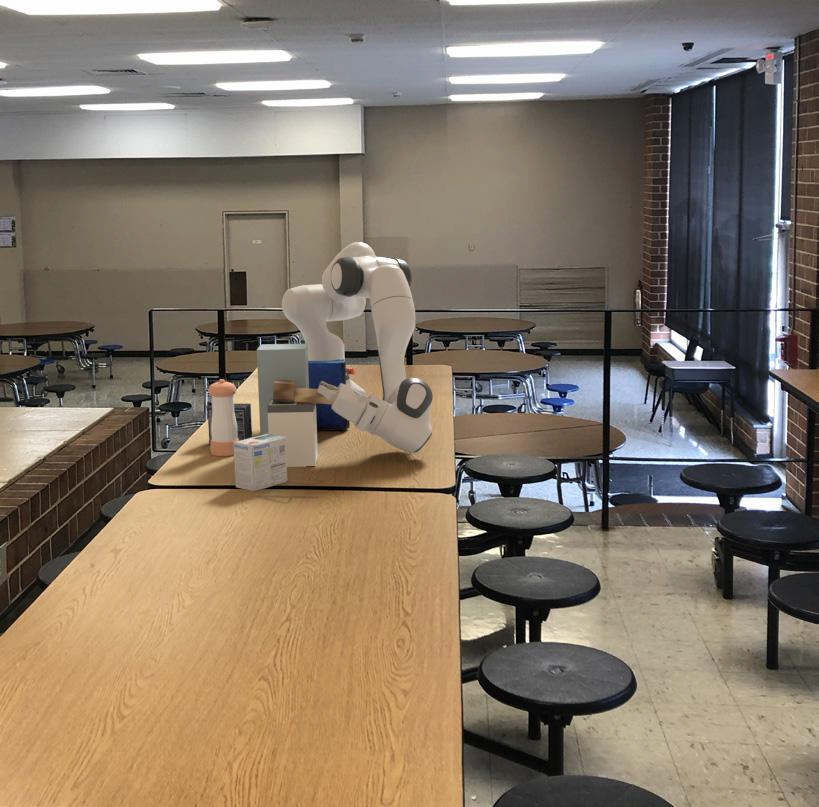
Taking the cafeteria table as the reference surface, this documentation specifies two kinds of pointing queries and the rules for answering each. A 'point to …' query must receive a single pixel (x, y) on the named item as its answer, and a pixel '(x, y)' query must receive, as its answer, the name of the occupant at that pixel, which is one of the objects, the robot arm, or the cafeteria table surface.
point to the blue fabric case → (332, 375)
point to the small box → (241, 418)
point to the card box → (295, 430)
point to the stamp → (297, 393)
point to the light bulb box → (260, 462)
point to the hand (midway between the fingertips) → (319, 386)
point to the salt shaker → (223, 418)
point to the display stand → (279, 372)
